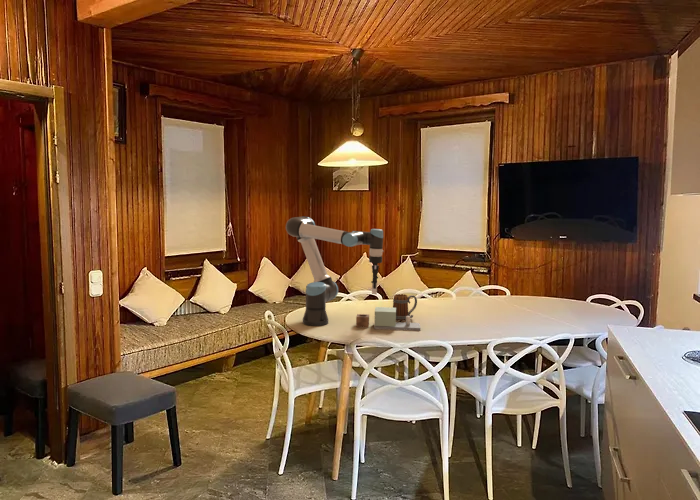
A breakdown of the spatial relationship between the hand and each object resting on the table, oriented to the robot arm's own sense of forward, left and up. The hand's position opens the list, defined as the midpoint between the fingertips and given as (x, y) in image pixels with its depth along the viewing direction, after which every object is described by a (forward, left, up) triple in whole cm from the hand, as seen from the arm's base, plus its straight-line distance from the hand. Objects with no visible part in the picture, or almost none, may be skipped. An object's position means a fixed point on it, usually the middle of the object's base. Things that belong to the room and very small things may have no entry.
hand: (374, 291), depth 321 cm
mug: (+18, +15, -19) cm, 31 cm away
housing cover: (+7, -5, -17) cm, 19 cm away
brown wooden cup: (-6, -5, -19) cm, 21 cm away
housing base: (+14, -5, -19) cm, 24 cm away
